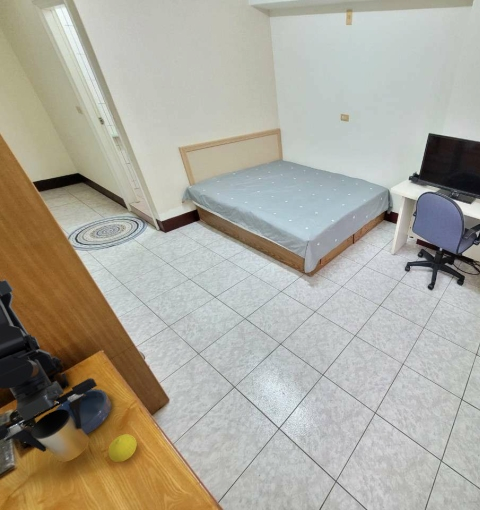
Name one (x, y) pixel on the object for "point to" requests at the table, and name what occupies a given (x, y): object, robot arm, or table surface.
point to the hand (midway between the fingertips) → (63, 439)
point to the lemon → (122, 448)
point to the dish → (91, 409)
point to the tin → (60, 435)
